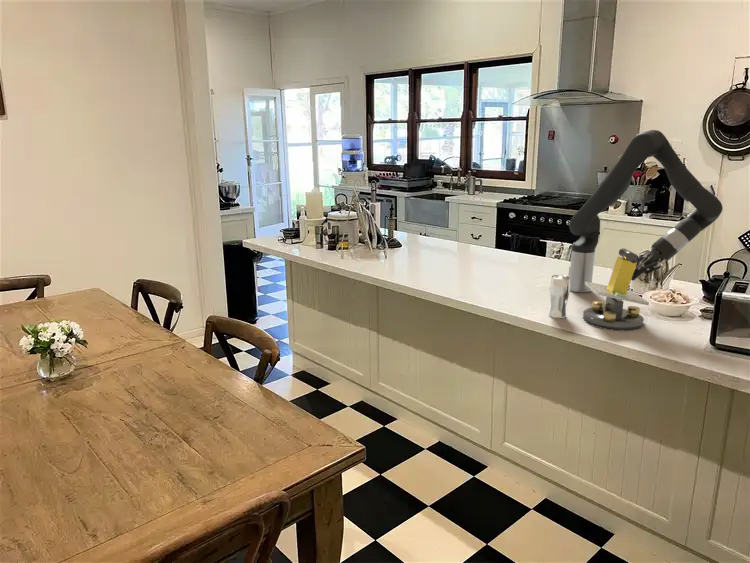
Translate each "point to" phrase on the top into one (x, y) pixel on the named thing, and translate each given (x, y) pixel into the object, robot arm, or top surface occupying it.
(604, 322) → the disc with brass knobs
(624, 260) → the yellow block with roller
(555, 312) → the beer glass
